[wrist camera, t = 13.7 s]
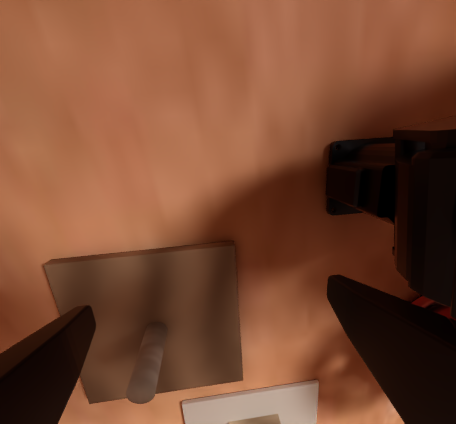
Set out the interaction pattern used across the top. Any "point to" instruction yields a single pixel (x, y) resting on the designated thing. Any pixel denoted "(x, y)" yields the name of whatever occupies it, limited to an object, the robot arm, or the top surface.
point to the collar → (259, 420)
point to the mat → (257, 405)
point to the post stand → (155, 318)
